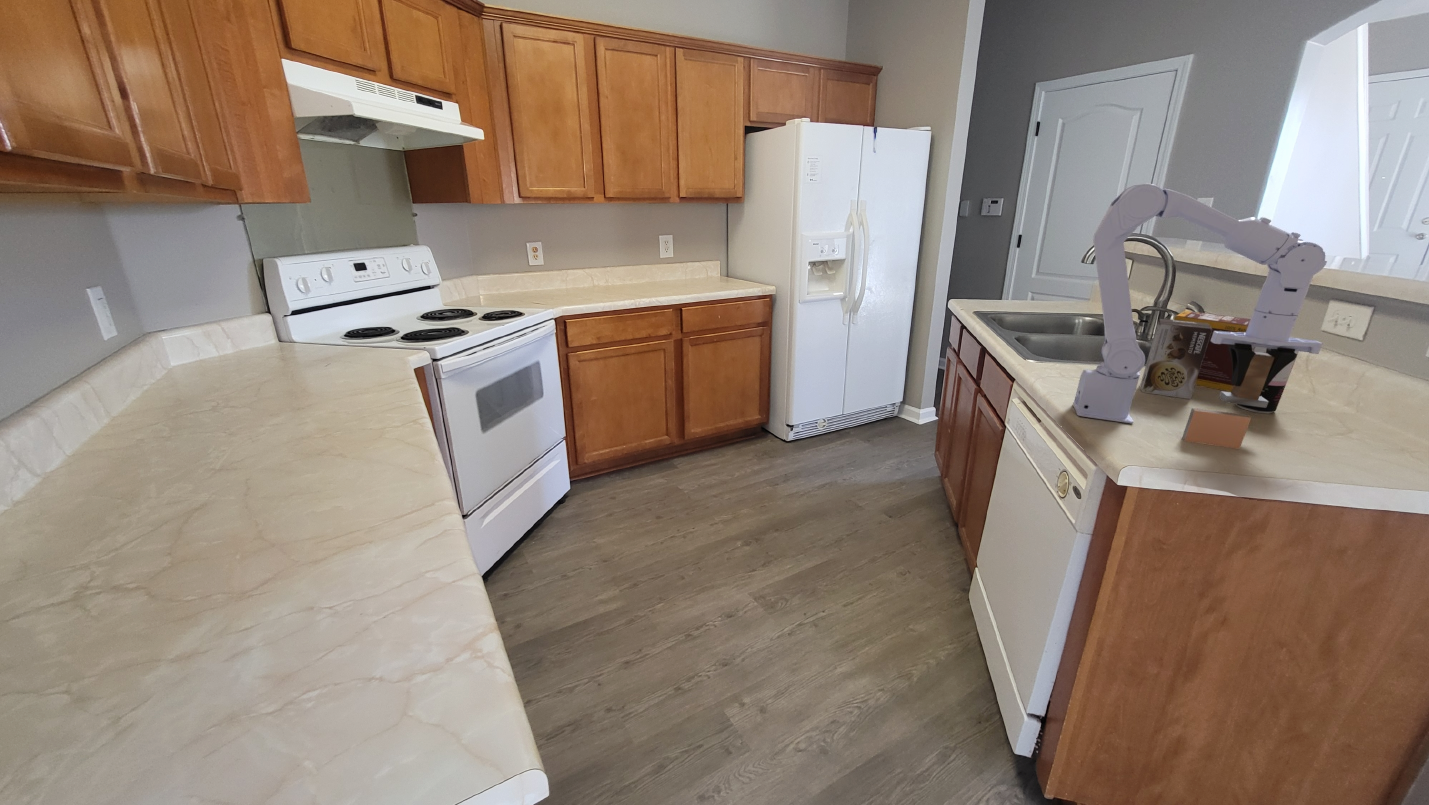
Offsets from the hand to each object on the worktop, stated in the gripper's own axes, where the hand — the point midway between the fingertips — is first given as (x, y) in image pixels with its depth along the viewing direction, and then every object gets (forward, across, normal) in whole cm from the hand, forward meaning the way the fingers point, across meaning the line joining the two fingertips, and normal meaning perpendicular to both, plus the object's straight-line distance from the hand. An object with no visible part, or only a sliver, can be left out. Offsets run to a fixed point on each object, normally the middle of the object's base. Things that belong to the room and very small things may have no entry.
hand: (1247, 386), depth 104 cm
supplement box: (+10, +6, +40) cm, 41 cm away
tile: (+10, -5, -6) cm, 13 cm away
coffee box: (+10, -5, +25) cm, 27 cm away
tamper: (+3, 0, 0) cm, 3 cm away
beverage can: (+10, +10, +21) cm, 25 cm away
